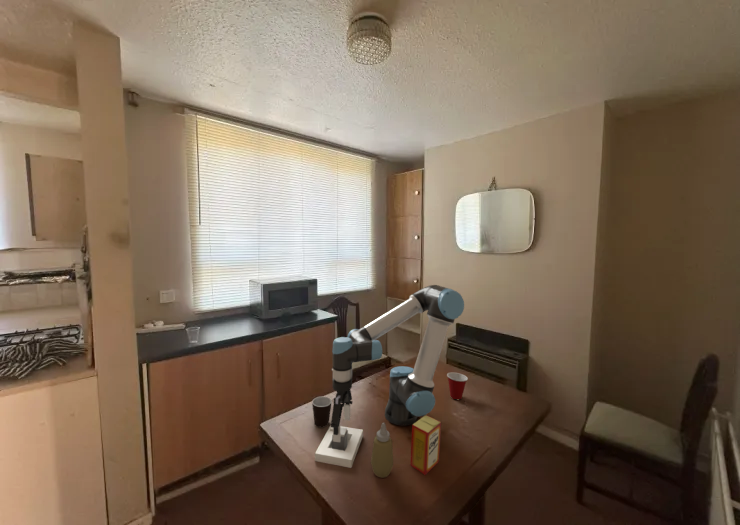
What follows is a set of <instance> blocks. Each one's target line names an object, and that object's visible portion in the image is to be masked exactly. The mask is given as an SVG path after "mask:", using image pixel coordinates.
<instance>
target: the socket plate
mask: <svg viewBox="0 0 740 525" xmlns="http://www.w3.org/2000/svg"><path fill="white" fill-rule="evenodd" d="M341 428H346V429H347V430H348V445H347V447H346V449H345V451H343V450H338V449H332V435H333V427H331V425H330V426H329V427H328V429H327V431H326V433H325V435H324V437H323V439H322V440H321V442H320V444H319V445H318V448H317V449H316V451H315V453H314V461H315V462H319V463H324V464H327V465H328V464H329V465H335V466H340V467H344V468H350V469H351V468H352V467H353V465H354V461H355V458H356V456H357V453H358V451H359V447H360V445H361V442H362V440H363V437H364V430H363V429H362V428H361V429H359V428H354V427H347V426H342V425H341Z"/></svg>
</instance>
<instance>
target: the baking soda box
mask: <svg viewBox="0 0 740 525" xmlns="http://www.w3.org/2000/svg"><path fill="white" fill-rule="evenodd" d="M411 426H412V427H411V441H410V442H411V443H410V465H409V466H410V467H412V468H414V469H416V470H417V471H418V472H420V473H421V474H423V475H424V476H426V475H427V474H428V473H429V472H430V471H431V470H432V469H434V467H435V466H436V465H437V464H438V463H439V462H440V455H441V454H440V453H441V452H440V451H441V437H442V436H441V435H442V434H441V432H442V421H440V420H438V419H437V418H434V417H432V416H430V415H428V414H426V415H424V416H421V418H420V419H417V420H416V421H415V422H414V423H413V424H411Z"/></svg>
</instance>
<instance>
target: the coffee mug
mask: <svg viewBox="0 0 740 525" xmlns="http://www.w3.org/2000/svg"><path fill="white" fill-rule="evenodd" d="M332 402H333V401H332V399H331V397H328V396H324V395H323V396H317V397H315V398H313V399H312V401H311V403H312V404H311V405H312V412H313V413H312V414H313V423H314V426H315V427H317V428H325V427H327V426H328V425H330V424H329V423H330V416H331V410H332V404H333V403H332Z"/></svg>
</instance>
